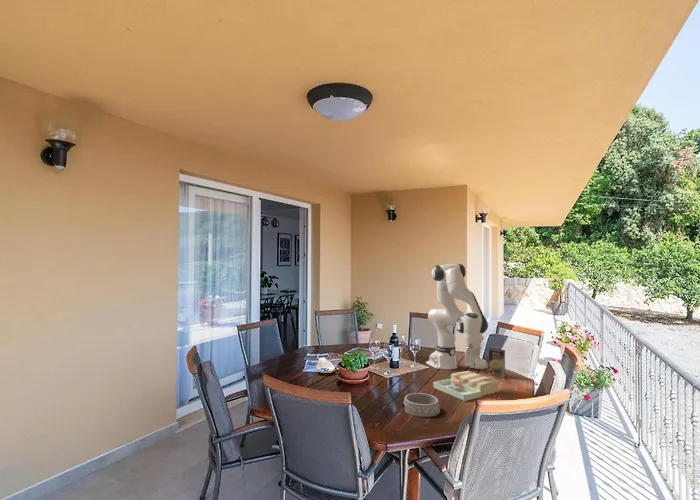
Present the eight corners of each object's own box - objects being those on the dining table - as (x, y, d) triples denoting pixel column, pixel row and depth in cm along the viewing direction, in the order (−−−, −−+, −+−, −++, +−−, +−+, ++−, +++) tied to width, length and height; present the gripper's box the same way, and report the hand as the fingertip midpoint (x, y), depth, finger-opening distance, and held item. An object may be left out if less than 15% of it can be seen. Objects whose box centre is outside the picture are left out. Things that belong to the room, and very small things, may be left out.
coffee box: (488, 375, 235) (488, 350, 235) (490, 373, 240) (489, 348, 241) (503, 378, 230) (503, 351, 231) (505, 375, 236) (505, 349, 236)
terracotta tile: (457, 385, 212) (454, 387, 212) (454, 377, 211) (451, 379, 211) (463, 387, 208) (461, 389, 207) (460, 380, 207) (457, 382, 206)
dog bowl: (433, 402, 191) (433, 391, 191) (444, 417, 172) (444, 405, 173) (400, 402, 190) (400, 391, 190) (407, 417, 172) (407, 405, 172)
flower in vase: (488, 371, 245) (488, 332, 246) (470, 370, 247) (470, 332, 248) (485, 365, 258) (485, 329, 259) (468, 364, 260) (467, 328, 261)
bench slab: (450, 384, 218) (450, 374, 218) (468, 380, 225) (468, 370, 225) (480, 396, 199) (480, 384, 199) (498, 392, 205) (498, 380, 206)
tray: (433, 387, 213) (433, 381, 213) (449, 383, 219) (449, 378, 219) (464, 401, 192) (464, 395, 192) (481, 396, 198) (481, 391, 198)
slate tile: (455, 384, 210) (455, 388, 210) (448, 386, 208) (448, 389, 207) (461, 387, 205) (461, 391, 205) (454, 388, 203) (454, 392, 203)
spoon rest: (336, 375, 236) (336, 363, 236) (318, 376, 232) (318, 365, 233) (327, 365, 258) (327, 354, 259) (310, 366, 255) (311, 356, 255)
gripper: (473, 347, 202) (473, 372, 202) (482, 339, 219) (482, 362, 219) (461, 345, 205) (462, 370, 205) (471, 338, 222) (471, 361, 222)
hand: (472, 366), depth 212 cm, fingers closed
